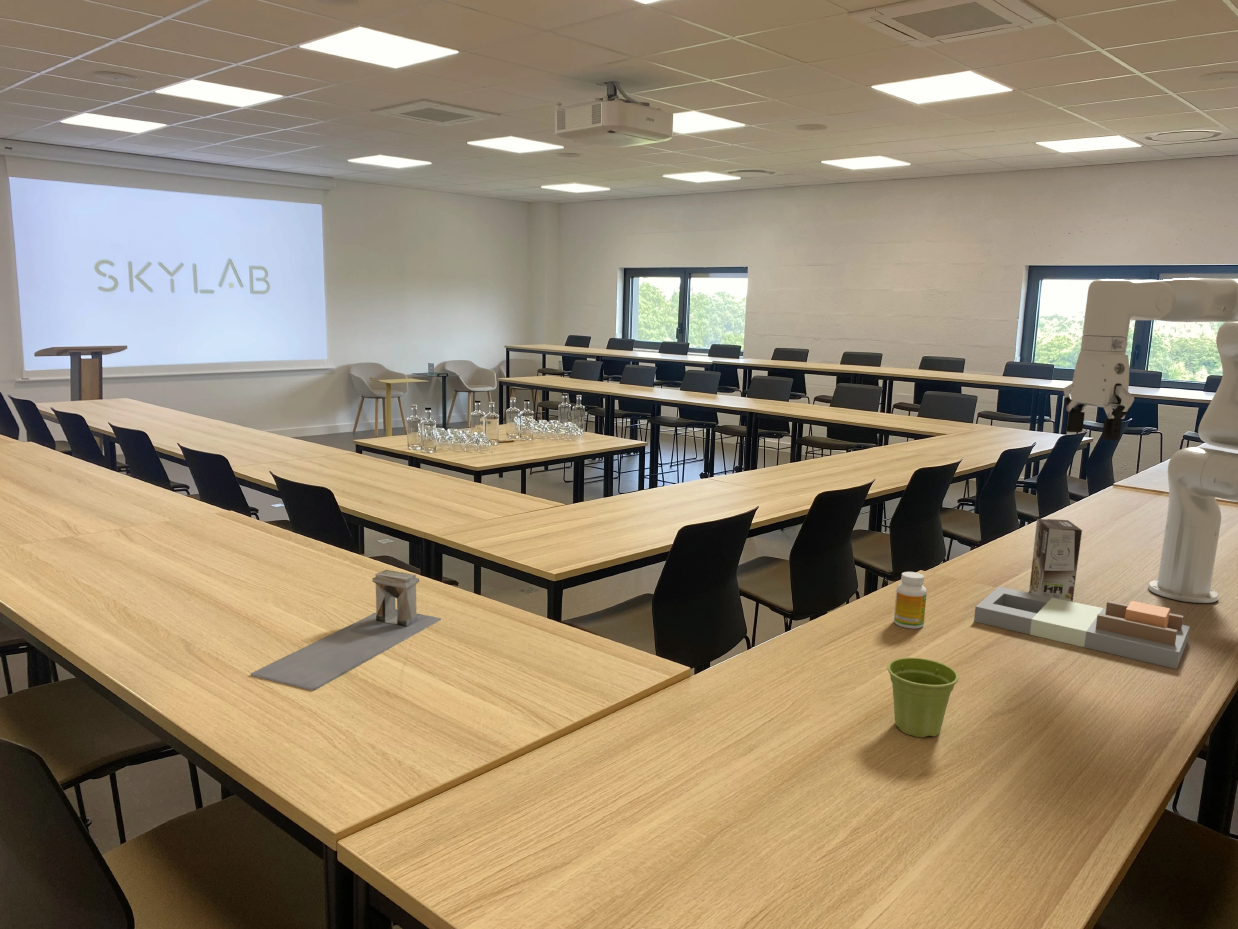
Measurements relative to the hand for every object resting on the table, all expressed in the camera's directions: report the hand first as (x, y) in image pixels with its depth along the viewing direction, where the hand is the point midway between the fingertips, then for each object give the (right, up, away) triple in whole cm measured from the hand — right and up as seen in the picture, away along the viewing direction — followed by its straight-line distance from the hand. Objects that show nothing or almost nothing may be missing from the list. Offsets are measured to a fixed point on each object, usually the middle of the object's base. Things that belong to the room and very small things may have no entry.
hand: (1091, 435), depth 165 cm
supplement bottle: (-36, -36, -3) cm, 51 cm away
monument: (-136, -37, -19) cm, 142 cm away
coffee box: (-1, -34, +14) cm, 36 cm away
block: (+3, -35, -12) cm, 37 cm away
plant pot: (-49, -43, -44) cm, 78 cm away
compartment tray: (-5, -37, -5) cm, 37 cm away
